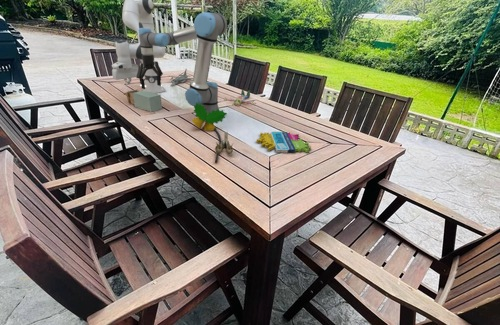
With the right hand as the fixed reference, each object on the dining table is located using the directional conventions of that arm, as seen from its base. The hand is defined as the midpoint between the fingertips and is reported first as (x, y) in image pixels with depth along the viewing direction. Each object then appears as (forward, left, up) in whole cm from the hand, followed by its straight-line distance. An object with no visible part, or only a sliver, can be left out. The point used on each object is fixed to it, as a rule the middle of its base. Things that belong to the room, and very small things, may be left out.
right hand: (151, 87), depth 182 cm
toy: (+16, -69, -16) cm, 73 cm away
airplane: (+88, -23, -16) cm, 92 cm away
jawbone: (-73, -38, -16) cm, 84 cm away
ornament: (-41, -34, -16) cm, 56 cm away
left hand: (+19, +17, -2) cm, 26 cm away
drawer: (+13, +12, -15) cm, 24 cm away
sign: (-68, -73, -16) cm, 101 cm away
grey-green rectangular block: (+5, +4, -16) cm, 17 cm away
